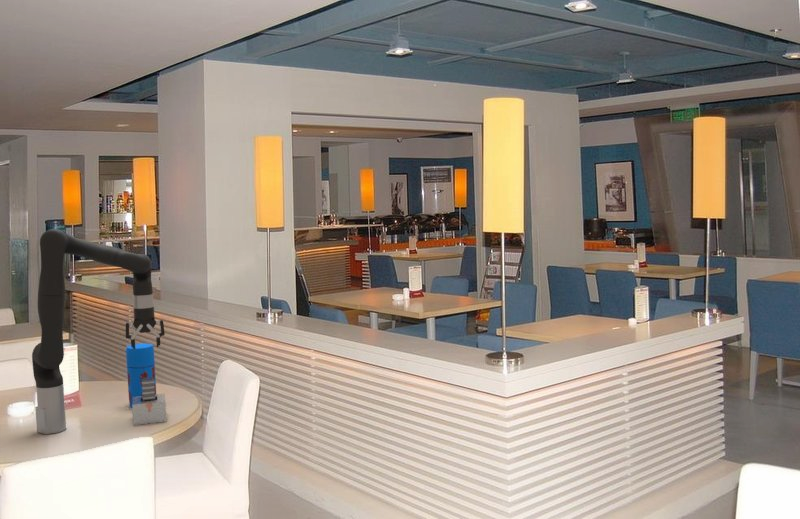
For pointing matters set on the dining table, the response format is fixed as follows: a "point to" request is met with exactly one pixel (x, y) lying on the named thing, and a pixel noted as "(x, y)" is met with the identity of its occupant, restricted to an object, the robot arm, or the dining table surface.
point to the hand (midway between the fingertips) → (146, 347)
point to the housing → (149, 410)
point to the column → (148, 389)
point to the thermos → (139, 368)
